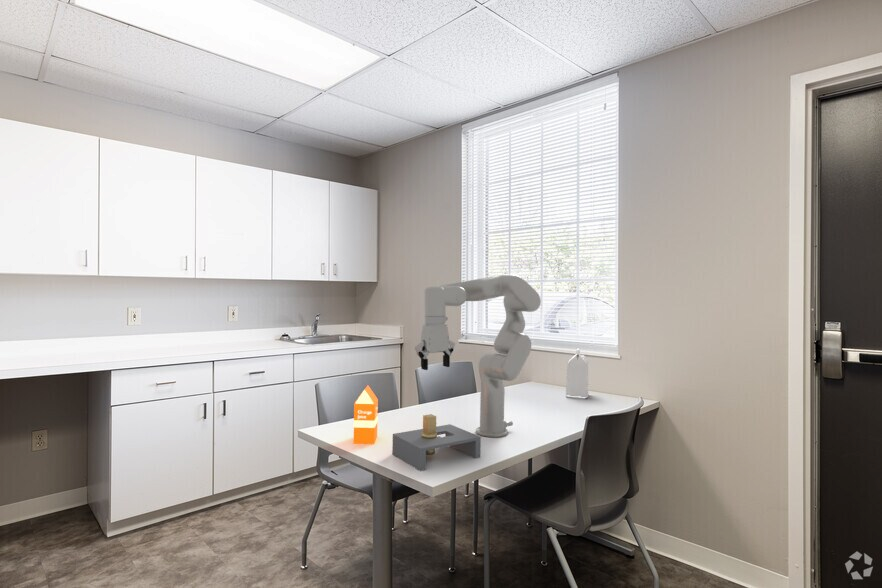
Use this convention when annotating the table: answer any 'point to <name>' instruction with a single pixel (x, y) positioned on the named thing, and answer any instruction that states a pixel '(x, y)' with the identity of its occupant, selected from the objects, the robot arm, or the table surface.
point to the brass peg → (429, 430)
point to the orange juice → (366, 418)
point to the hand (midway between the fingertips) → (435, 368)
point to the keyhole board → (433, 444)
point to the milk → (577, 376)
